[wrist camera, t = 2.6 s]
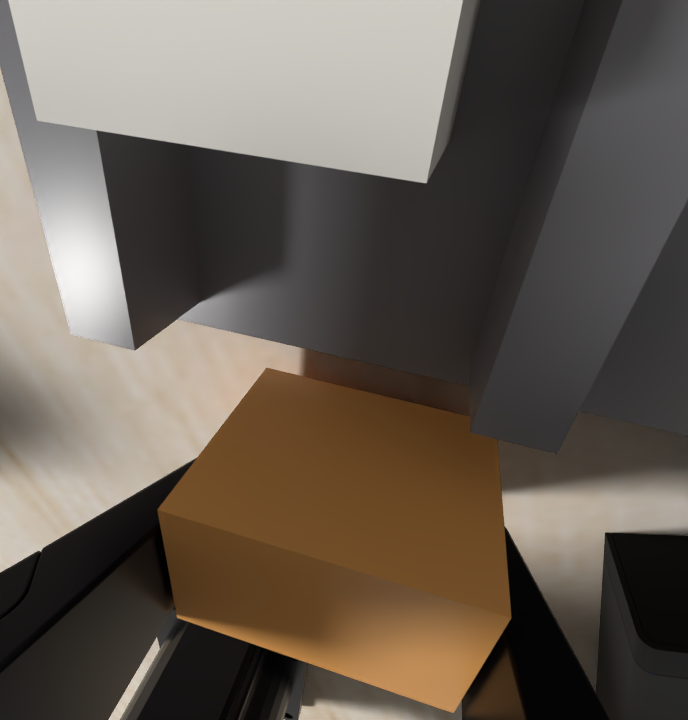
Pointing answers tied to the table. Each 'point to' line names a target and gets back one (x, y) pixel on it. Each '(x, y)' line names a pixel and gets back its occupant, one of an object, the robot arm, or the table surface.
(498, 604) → the orange block
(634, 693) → the external hard drive
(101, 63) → the white block
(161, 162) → the grey ridged tray
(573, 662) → the robot arm
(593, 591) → the table surface
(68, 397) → the table surface
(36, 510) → the table surface
